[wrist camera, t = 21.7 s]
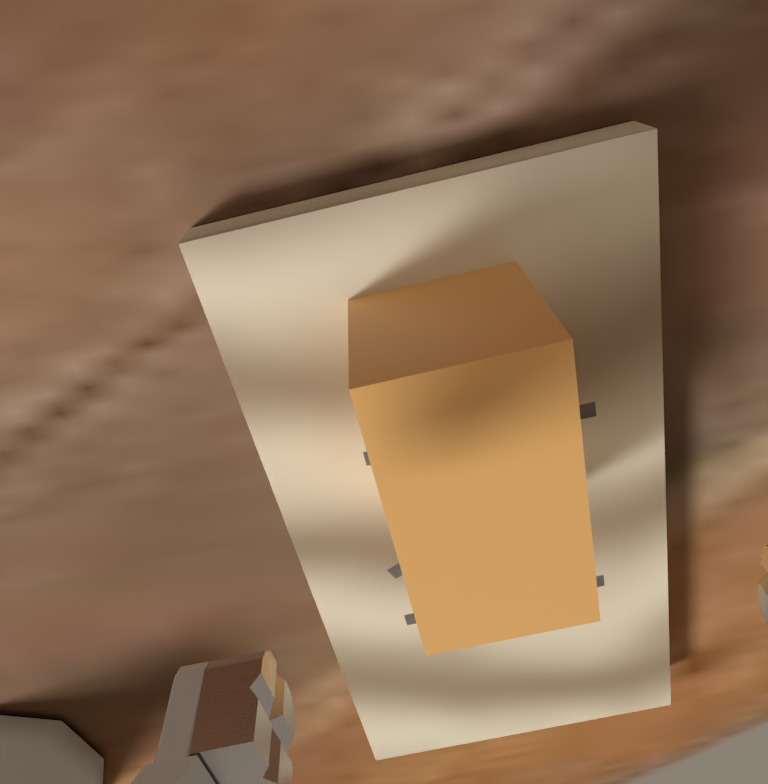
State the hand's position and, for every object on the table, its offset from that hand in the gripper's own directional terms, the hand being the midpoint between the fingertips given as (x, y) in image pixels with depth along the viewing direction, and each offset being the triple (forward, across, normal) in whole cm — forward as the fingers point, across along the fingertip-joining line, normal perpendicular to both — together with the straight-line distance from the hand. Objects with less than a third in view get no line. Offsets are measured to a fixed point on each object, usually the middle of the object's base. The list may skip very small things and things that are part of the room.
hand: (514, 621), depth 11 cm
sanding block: (+9, 0, +2) cm, 9 cm away
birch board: (+10, 0, +6) cm, 12 cm away
